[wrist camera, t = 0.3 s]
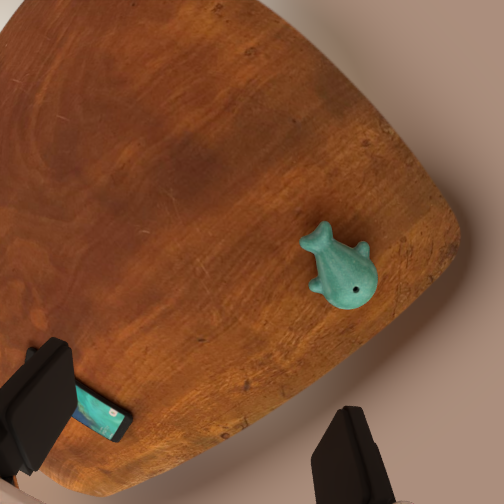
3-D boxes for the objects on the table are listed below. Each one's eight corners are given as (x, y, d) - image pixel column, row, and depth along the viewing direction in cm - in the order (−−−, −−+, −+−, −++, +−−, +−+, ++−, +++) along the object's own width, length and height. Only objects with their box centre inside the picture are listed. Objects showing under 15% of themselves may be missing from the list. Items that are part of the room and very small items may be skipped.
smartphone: (26, 346, 28) (134, 419, 30) (30, 343, 29) (135, 415, 31) (21, 380, 30) (117, 445, 32) (24, 377, 31) (118, 441, 33)
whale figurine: (329, 312, 27) (339, 334, 23) (280, 247, 25) (283, 262, 22) (384, 273, 26) (400, 289, 22) (339, 203, 24) (352, 211, 21)
